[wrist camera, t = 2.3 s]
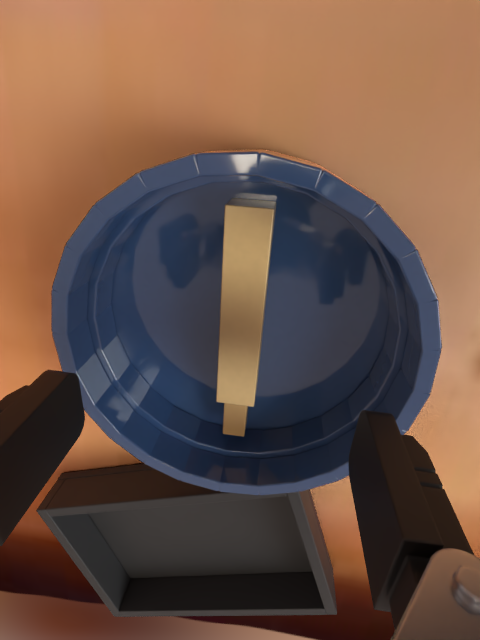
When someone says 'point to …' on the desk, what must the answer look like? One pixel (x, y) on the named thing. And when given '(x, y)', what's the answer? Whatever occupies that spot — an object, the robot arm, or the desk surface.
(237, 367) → the wooden stick
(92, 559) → the pen tray
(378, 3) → the desk surface
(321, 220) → the bowl
